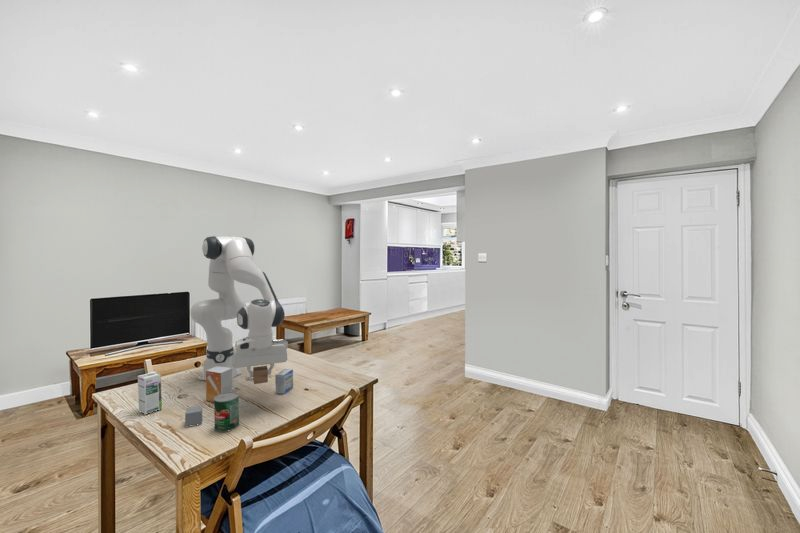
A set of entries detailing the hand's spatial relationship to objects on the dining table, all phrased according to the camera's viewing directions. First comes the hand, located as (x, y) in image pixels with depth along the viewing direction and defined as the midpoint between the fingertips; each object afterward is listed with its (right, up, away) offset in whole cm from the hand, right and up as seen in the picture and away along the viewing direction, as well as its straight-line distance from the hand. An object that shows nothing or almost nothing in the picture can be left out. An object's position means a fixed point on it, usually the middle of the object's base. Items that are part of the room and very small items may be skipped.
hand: (260, 375), depth 137 cm
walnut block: (0, -2, 0) cm, 2 cm away
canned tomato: (-7, -14, -13) cm, 21 cm away
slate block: (-20, -14, -11) cm, 27 cm away
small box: (-21, -13, +9) cm, 26 cm away
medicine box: (+3, -13, +19) cm, 23 cm away
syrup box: (-42, -13, -2) cm, 44 cm away
